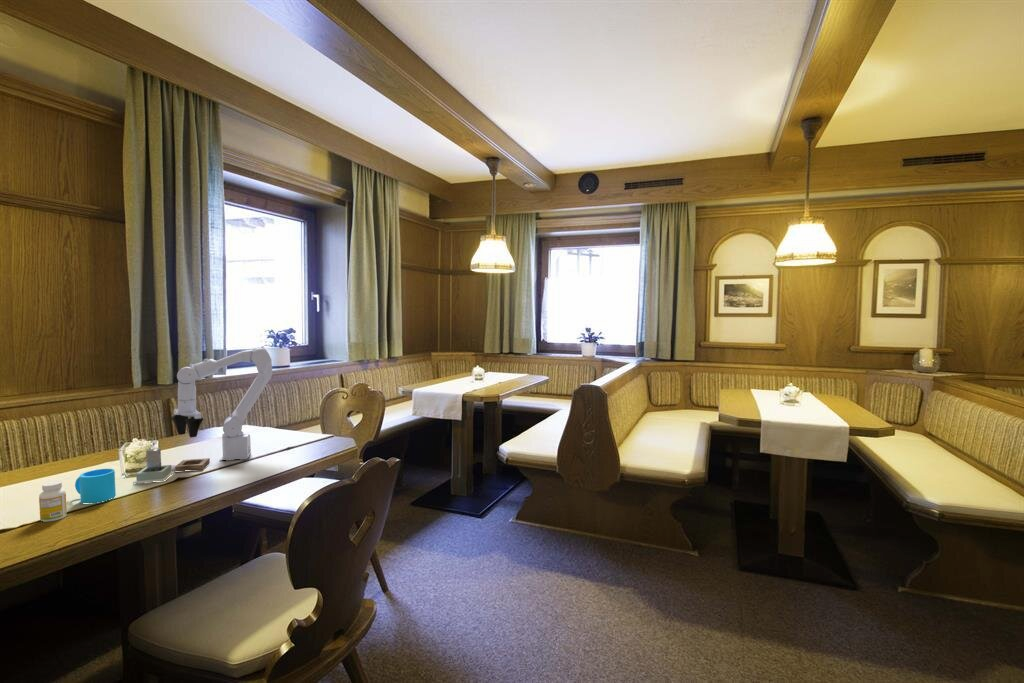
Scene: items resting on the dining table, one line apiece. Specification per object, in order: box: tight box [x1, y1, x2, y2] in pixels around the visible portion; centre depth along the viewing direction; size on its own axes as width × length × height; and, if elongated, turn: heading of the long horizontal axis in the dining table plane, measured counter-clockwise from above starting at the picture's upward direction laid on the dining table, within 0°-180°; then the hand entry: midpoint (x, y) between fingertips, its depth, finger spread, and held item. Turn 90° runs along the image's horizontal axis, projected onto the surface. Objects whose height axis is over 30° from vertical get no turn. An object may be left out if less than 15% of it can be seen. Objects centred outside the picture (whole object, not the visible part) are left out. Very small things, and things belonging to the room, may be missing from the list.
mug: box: [74, 468, 117, 504], centre depth 151 cm, size 12×8×8 cm
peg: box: [145, 447, 162, 472], centre depth 169 cm, size 4×4×9 cm
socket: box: [174, 457, 211, 471], centre depth 182 cm, size 9×9×2 cm
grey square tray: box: [132, 464, 176, 485], centre depth 170 cm, size 9×9×3 cm
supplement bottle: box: [38, 480, 68, 523], centre depth 137 cm, size 5×5×10 cm
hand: (187, 435), depth 187 cm, fingers open, 7 cm apart
